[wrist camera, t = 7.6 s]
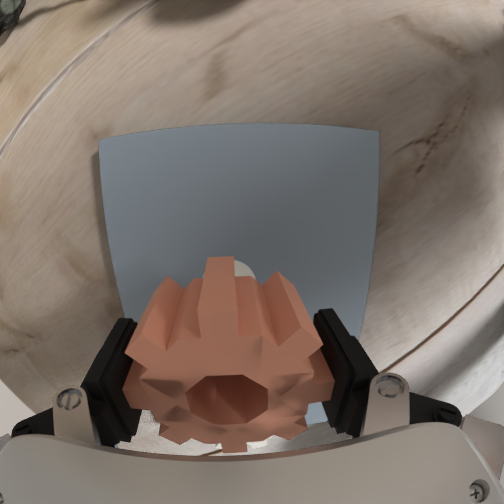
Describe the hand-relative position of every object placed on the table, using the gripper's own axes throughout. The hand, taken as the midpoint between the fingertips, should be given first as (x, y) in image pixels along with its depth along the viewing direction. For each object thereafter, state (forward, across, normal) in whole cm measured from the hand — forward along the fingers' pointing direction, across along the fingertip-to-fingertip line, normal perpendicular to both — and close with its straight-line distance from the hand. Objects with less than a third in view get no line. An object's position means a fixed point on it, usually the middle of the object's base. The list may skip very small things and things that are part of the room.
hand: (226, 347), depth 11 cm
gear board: (+7, -1, +3) cm, 8 cm away
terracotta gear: (+1, 0, 0) cm, 1 cm away
